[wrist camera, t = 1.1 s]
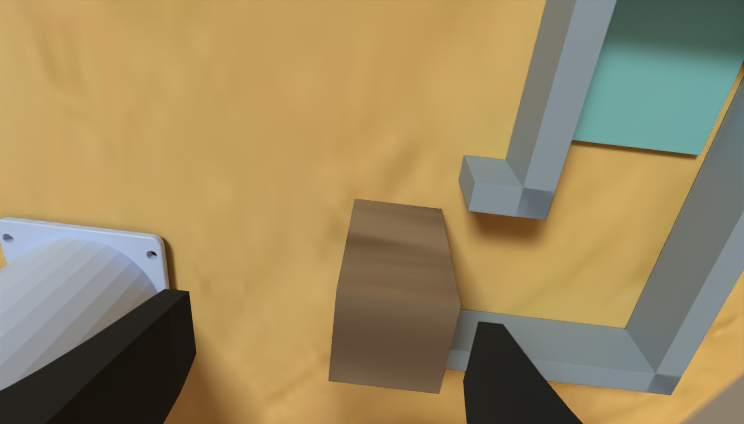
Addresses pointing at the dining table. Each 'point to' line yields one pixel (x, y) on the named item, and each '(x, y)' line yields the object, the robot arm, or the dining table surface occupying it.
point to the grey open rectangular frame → (679, 255)
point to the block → (394, 299)
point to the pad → (663, 74)
